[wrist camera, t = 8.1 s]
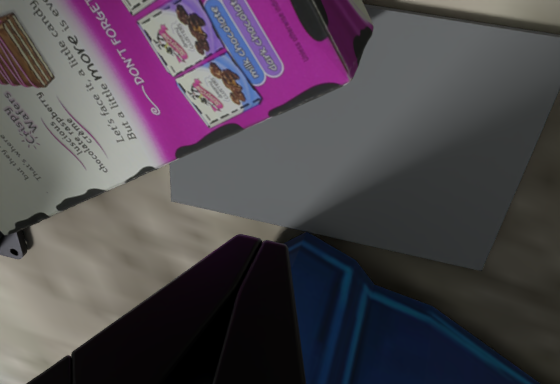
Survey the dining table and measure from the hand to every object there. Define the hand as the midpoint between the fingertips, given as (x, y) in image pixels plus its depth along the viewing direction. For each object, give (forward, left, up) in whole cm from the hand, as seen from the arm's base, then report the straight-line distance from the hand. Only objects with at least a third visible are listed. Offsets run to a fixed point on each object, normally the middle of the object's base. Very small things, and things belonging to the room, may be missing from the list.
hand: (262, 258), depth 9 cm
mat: (-4, 0, -12) cm, 13 cm away
